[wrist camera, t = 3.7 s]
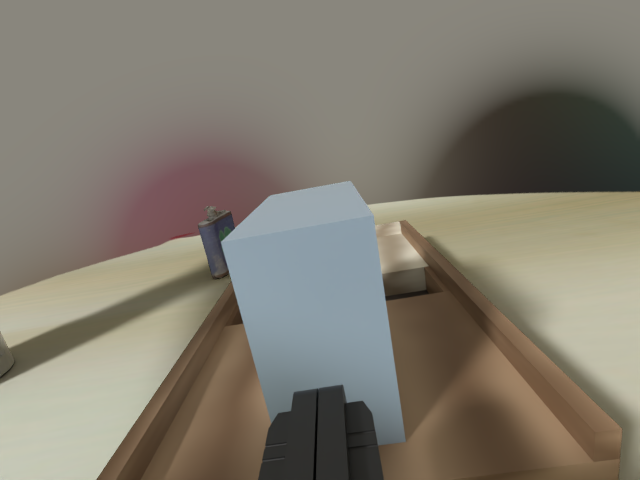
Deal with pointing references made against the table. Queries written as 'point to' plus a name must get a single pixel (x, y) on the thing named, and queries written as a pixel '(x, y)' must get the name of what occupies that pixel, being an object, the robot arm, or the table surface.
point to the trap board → (413, 384)
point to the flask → (216, 239)
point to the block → (316, 301)
